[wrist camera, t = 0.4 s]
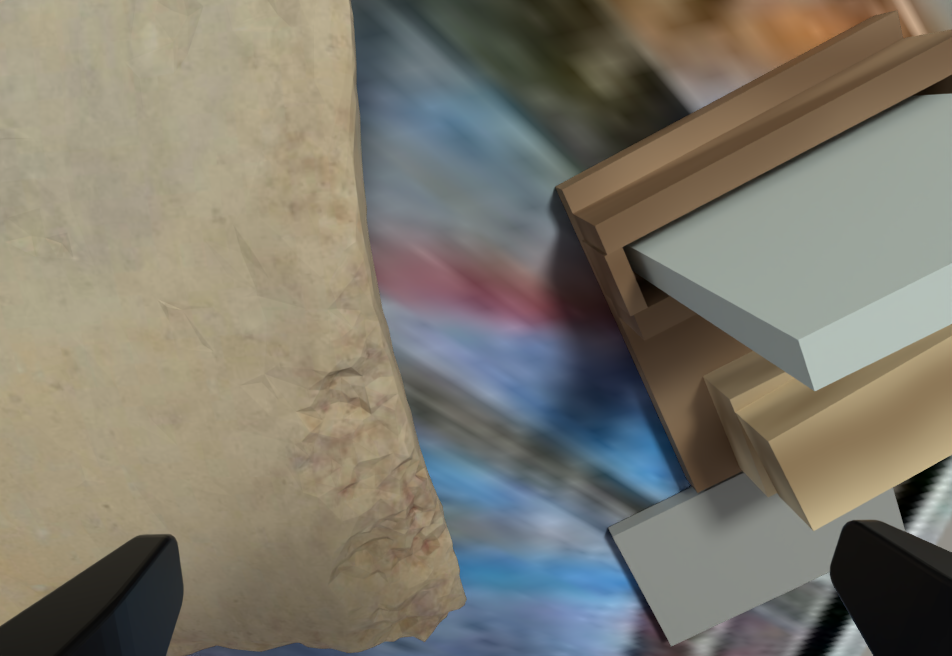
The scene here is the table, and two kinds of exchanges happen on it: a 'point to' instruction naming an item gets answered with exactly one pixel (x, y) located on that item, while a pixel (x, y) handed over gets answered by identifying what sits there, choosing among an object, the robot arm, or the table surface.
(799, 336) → the panel
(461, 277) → the table surface
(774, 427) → the offcut upper
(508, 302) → the table surface
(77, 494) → the tan curved tapered piece
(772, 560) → the mat
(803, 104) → the rack
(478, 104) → the table surface
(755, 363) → the offcut lower
